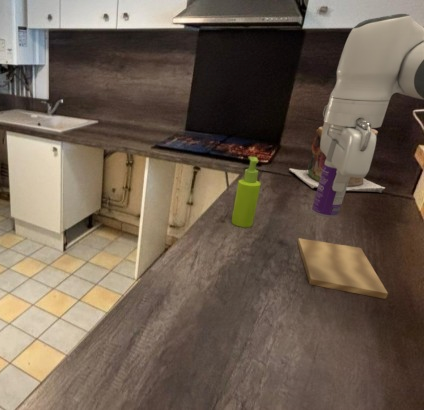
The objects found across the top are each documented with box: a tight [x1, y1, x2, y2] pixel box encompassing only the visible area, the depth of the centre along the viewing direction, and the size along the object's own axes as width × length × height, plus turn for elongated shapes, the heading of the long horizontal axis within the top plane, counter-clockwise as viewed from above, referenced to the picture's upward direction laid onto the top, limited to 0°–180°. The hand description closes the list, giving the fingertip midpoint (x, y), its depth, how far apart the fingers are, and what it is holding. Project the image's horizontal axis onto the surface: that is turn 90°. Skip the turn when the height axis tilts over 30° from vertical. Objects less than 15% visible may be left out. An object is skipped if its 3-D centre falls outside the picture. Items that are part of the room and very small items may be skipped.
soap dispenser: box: [230, 156, 262, 228], centre depth 104 cm, size 6×7×20 cm
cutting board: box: [297, 237, 389, 300], centre depth 85 cm, size 14×20×2 cm
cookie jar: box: [288, 126, 386, 194], centre depth 134 cm, size 25×25×32 cm
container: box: [311, 139, 350, 219], centre depth 71 cm, size 5×5×15 cm
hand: (332, 185), depth 71 cm, fingers closed on container, 4 cm apart
